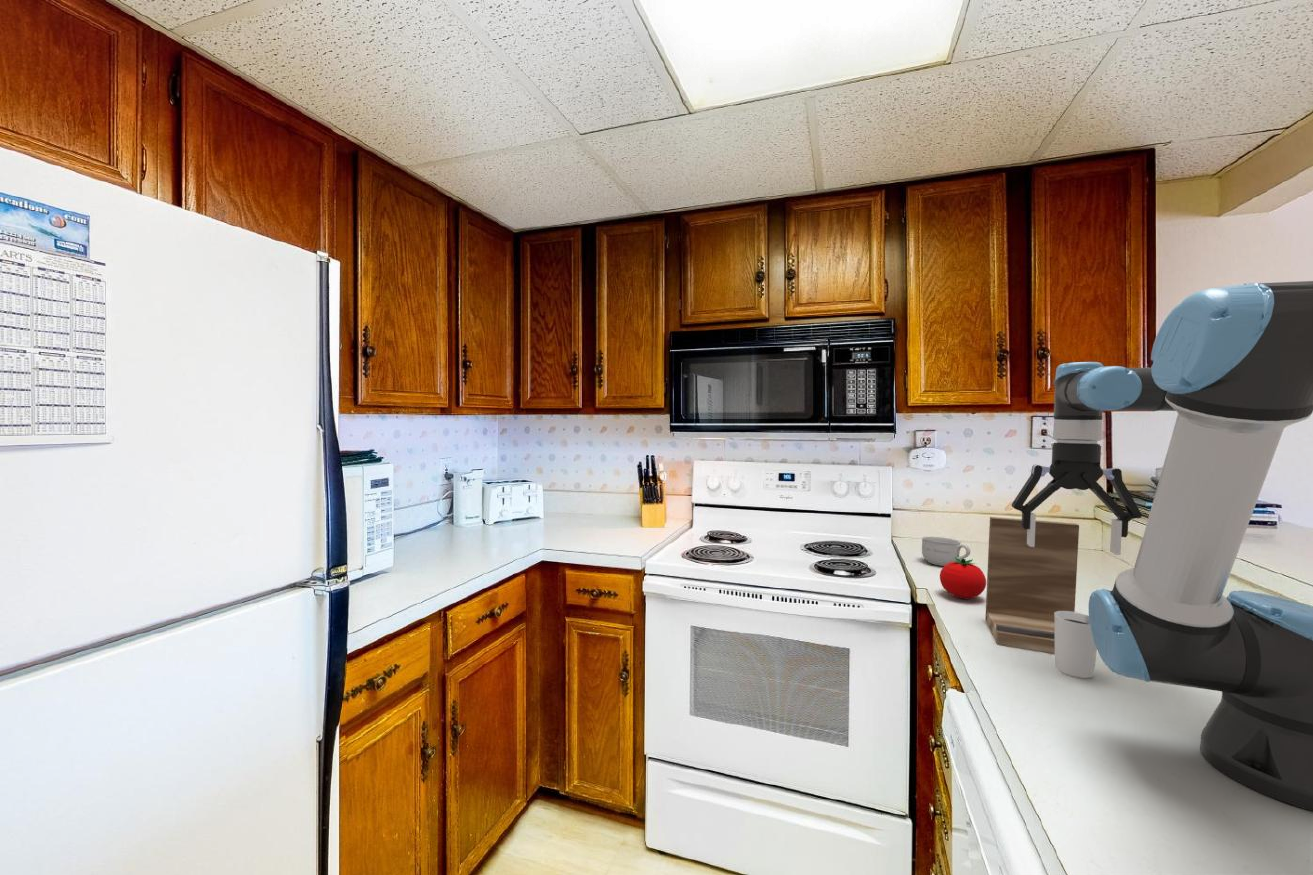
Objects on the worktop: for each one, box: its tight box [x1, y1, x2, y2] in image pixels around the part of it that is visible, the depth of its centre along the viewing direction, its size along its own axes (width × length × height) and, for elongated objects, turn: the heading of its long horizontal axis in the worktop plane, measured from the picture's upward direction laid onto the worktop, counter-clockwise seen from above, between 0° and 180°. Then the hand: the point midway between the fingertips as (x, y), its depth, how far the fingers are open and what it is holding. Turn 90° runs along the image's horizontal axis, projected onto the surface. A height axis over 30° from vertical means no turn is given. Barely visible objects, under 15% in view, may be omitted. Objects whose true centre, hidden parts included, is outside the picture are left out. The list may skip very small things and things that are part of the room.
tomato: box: [939, 557, 987, 599], centre depth 137 cm, size 10×10×10 cm
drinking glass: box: [1054, 611, 1098, 679], centre depth 98 cm, size 7×7×10 cm
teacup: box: [921, 535, 971, 567], centre depth 166 cm, size 14×11×8 cm
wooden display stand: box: [984, 516, 1080, 654], centre depth 112 cm, size 14×16×24 cm
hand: (1071, 549), depth 105 cm, fingers open, 13 cm apart
